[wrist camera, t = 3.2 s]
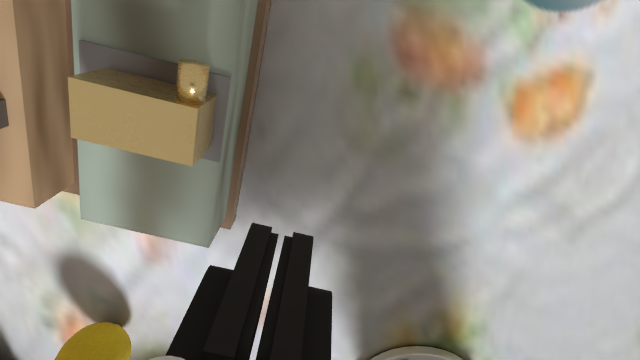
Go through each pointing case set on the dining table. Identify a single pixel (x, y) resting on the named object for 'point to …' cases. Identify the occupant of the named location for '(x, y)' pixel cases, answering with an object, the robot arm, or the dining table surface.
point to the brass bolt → (145, 112)
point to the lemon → (97, 343)
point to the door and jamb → (140, 59)
